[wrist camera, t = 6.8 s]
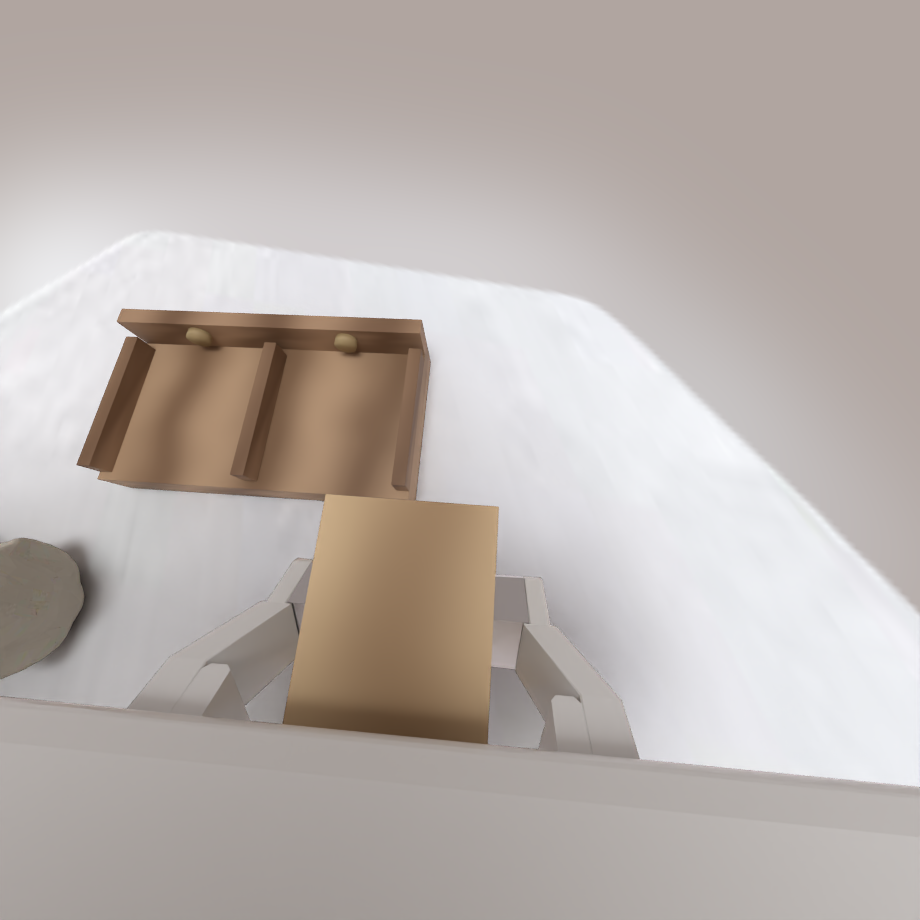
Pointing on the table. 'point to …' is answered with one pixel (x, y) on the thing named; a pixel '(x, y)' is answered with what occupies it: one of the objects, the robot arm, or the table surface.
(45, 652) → the ceramic sculpture
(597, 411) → the table surface
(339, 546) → the wooden block
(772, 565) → the table surface
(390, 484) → the wooden divided tray
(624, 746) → the robot arm
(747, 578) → the table surface
